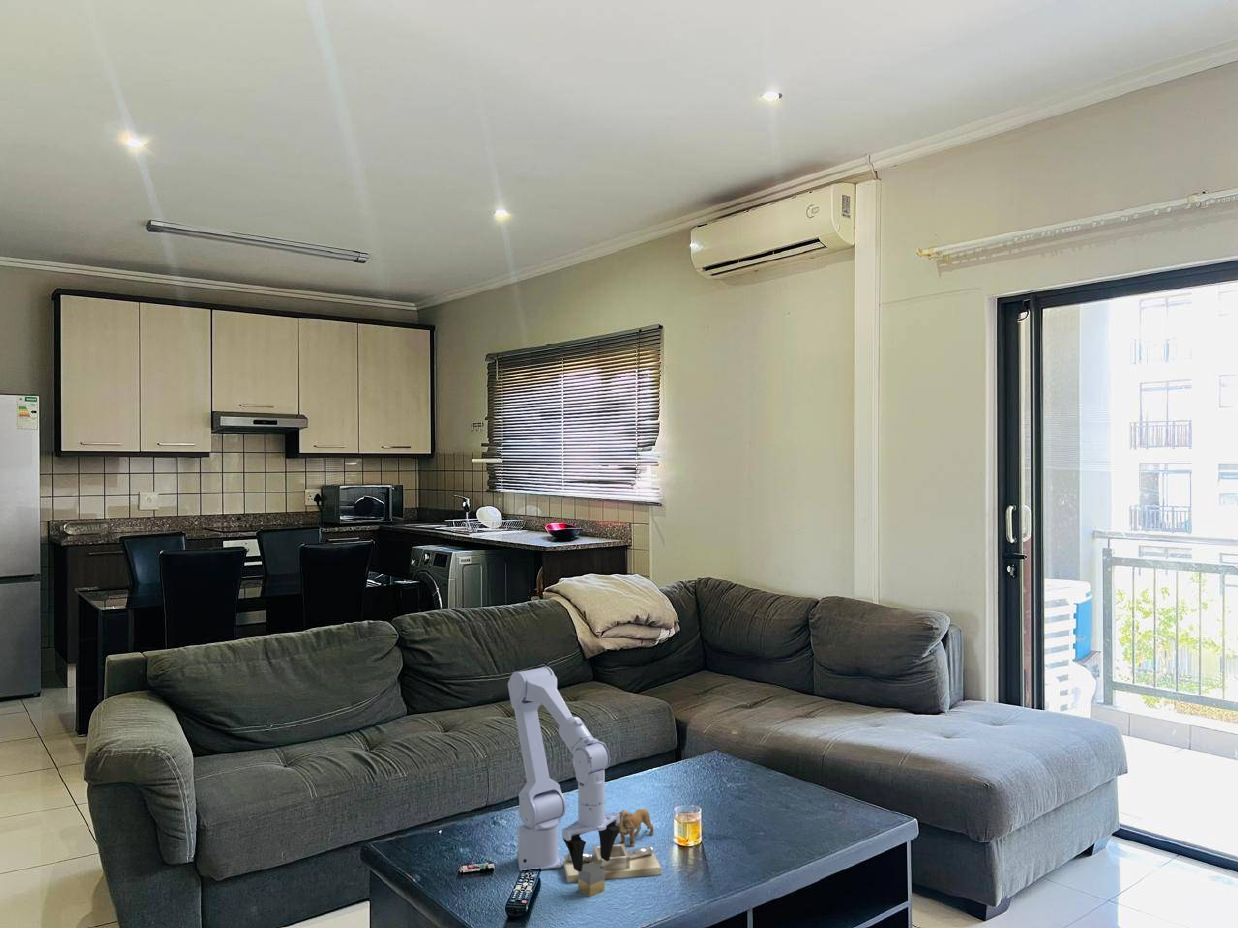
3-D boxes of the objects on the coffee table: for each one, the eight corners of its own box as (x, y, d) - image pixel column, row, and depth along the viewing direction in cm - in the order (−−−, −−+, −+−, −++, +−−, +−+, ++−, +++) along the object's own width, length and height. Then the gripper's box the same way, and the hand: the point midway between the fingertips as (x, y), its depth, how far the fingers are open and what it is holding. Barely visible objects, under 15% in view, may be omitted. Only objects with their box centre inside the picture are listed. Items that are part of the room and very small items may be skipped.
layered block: (590, 896, 186) (590, 873, 186) (578, 890, 189) (578, 866, 189) (604, 890, 189) (604, 867, 189) (592, 884, 192) (592, 861, 192)
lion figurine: (630, 854, 207) (630, 815, 207) (610, 849, 210) (610, 811, 210) (658, 831, 220) (657, 795, 220) (639, 827, 222) (639, 792, 223)
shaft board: (568, 882, 193) (568, 864, 193) (562, 864, 201) (562, 846, 201) (661, 874, 196) (661, 856, 196) (652, 856, 205) (652, 839, 205)
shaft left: (594, 860, 200) (594, 852, 200) (593, 863, 198) (593, 855, 198) (564, 859, 201) (564, 851, 201) (563, 862, 199) (563, 854, 199)
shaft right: (628, 860, 200) (628, 852, 200) (625, 857, 201) (625, 849, 201) (655, 855, 203) (655, 847, 203) (651, 852, 204) (651, 844, 204)
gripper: (576, 814, 181) (576, 880, 181) (628, 797, 191) (629, 860, 191) (555, 805, 187) (556, 869, 187) (608, 789, 196) (608, 850, 196)
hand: (591, 864), depth 189 cm, fingers open, 7 cm apart
